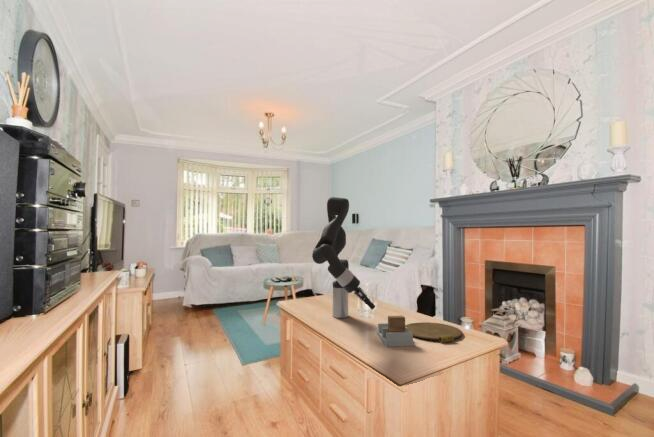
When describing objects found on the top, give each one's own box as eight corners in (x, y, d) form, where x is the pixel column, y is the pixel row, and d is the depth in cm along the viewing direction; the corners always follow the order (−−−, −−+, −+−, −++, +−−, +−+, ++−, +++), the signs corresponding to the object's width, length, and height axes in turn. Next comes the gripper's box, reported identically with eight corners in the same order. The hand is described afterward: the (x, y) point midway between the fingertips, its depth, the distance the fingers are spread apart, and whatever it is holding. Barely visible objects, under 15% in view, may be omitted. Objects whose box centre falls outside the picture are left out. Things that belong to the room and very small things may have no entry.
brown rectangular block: (387, 337, 145) (387, 315, 145) (402, 337, 145) (402, 315, 145) (390, 340, 141) (390, 318, 141) (405, 339, 142) (405, 317, 142)
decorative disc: (439, 318, 175) (478, 333, 146) (439, 324, 175) (478, 340, 146) (392, 322, 167) (424, 339, 138) (392, 328, 167) (424, 346, 138)
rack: (376, 334, 154) (376, 322, 154) (402, 333, 155) (402, 322, 155) (386, 346, 138) (386, 334, 138) (414, 345, 139) (414, 333, 139)
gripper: (356, 277, 135) (381, 303, 136) (350, 271, 149) (373, 295, 151) (344, 289, 135) (369, 316, 136) (339, 282, 149) (362, 306, 150)
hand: (371, 305), depth 143 cm, fingers open, 8 cm apart
